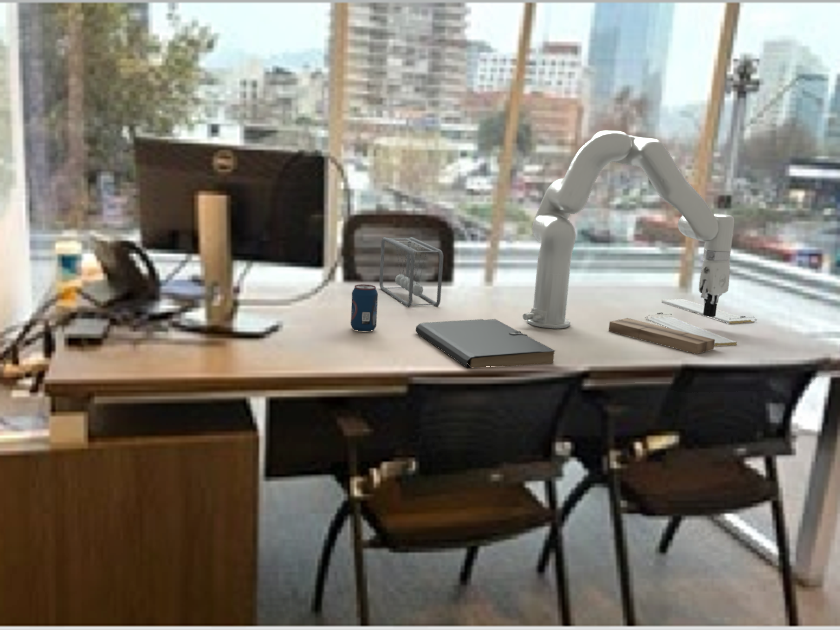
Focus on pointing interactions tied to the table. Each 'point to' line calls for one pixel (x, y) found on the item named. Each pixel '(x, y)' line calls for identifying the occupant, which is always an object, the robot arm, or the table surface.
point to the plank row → (662, 335)
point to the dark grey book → (485, 343)
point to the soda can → (364, 307)
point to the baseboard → (690, 329)
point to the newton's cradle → (411, 271)
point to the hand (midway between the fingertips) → (709, 315)
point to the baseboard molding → (700, 309)
